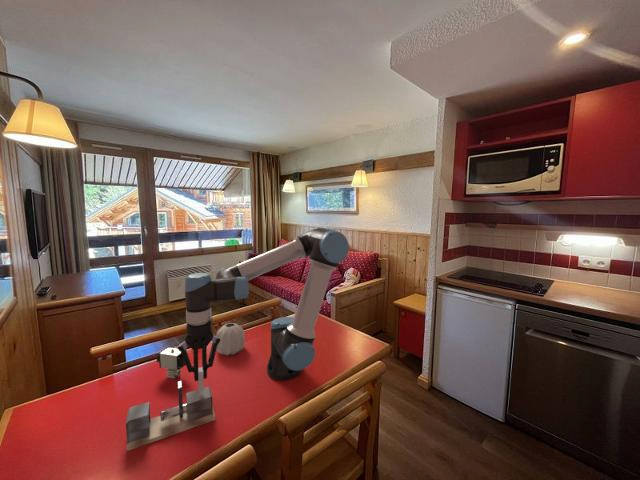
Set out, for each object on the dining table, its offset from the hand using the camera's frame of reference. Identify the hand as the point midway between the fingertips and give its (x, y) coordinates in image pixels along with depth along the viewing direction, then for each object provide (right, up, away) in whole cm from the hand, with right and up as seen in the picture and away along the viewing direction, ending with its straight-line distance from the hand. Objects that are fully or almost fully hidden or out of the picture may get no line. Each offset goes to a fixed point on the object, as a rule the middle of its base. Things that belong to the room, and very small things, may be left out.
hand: (200, 387), depth 89 cm
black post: (-4, -8, -2) cm, 9 cm away
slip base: (-7, -10, -3) cm, 13 cm away
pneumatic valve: (-21, -7, +22) cm, 31 cm away
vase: (-4, -5, +42) cm, 42 cm away
